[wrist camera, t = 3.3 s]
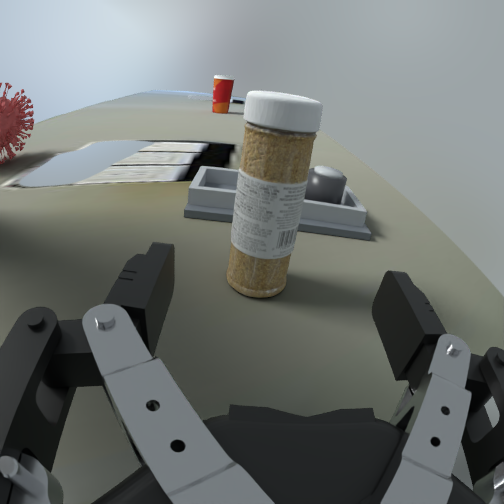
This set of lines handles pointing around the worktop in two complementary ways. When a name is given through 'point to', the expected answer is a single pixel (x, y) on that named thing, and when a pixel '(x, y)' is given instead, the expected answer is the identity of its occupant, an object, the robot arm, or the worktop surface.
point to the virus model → (13, 122)
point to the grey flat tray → (313, 211)
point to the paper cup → (222, 93)
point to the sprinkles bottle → (270, 189)
